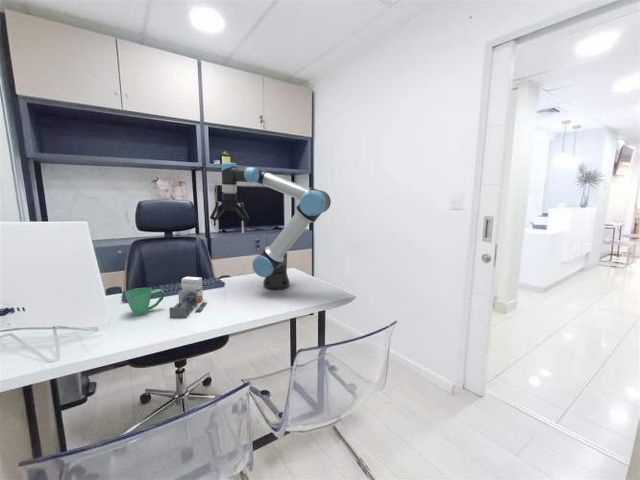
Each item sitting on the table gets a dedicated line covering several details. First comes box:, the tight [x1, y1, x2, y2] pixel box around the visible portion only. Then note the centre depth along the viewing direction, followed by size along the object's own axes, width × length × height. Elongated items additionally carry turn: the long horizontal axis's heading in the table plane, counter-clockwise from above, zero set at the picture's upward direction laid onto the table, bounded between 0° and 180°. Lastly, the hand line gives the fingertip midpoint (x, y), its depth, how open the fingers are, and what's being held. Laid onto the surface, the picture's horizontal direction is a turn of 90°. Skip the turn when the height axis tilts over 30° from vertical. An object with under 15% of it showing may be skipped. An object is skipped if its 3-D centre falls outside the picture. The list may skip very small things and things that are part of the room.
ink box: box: [180, 276, 204, 304], centre depth 146 cm, size 9×5×12 cm, turn 85°
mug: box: [125, 287, 165, 316], centre depth 132 cm, size 15×10×10 cm
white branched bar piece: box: [177, 290, 203, 307], centre depth 137 cm, size 11×8×7 cm
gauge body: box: [169, 301, 208, 319], centre depth 136 cm, size 11×17×4 cm
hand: (230, 232), depth 161 cm, fingers open, 13 cm apart
